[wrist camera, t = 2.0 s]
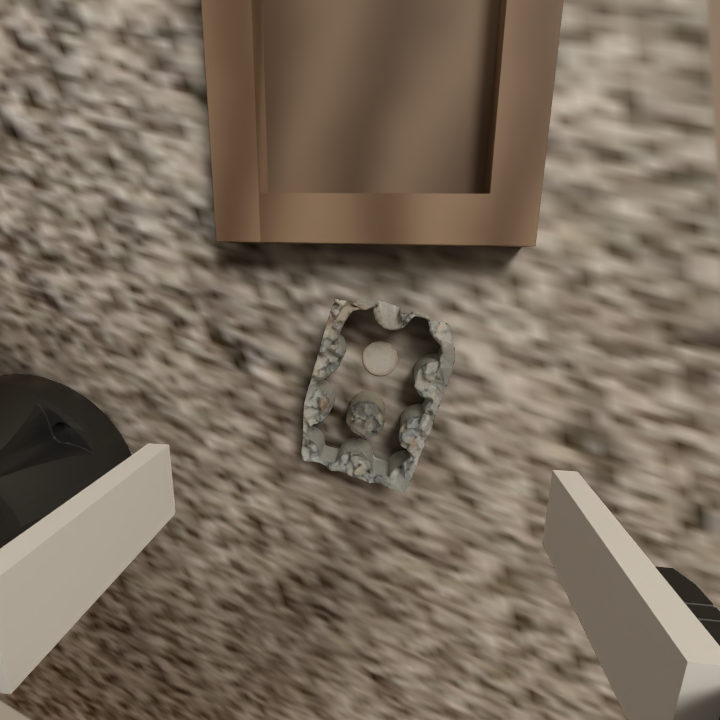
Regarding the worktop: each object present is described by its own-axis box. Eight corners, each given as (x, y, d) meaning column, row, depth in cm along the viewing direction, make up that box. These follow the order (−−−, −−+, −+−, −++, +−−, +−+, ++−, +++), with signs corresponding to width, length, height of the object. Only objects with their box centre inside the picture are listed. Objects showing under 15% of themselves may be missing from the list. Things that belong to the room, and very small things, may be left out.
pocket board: (233, 242, 25) (216, 241, 23) (213, -153, 21) (188, -207, 18) (521, 247, 24) (535, 245, 21) (567, -179, 19) (590, -242, 17)
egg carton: (342, 285, 26) (331, 289, 22) (459, 321, 25) (470, 332, 21) (299, 438, 28) (282, 466, 24) (405, 471, 28) (406, 506, 24)
